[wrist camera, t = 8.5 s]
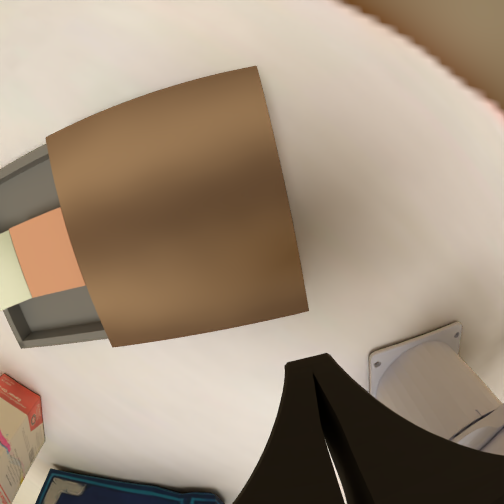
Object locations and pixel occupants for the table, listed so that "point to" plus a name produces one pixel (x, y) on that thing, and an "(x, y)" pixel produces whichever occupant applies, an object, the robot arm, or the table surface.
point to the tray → (55, 304)
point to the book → (111, 492)
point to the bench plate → (180, 211)
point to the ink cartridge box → (17, 435)
